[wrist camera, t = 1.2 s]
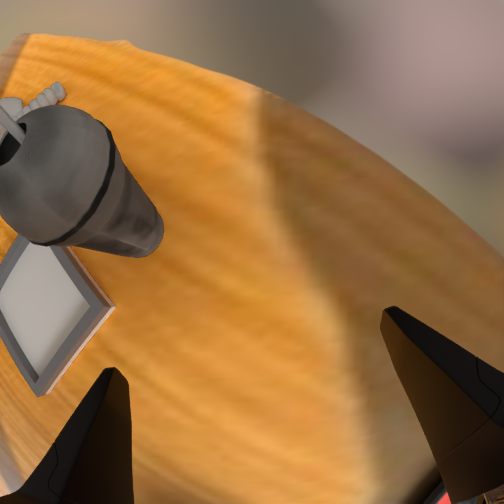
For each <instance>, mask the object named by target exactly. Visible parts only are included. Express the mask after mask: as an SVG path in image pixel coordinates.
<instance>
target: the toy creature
mask: <svg viewBox="0 0 504 504" xmlns="http://www.w3.org/2000/svg"><path fill="white" fill-rule="evenodd" d="M65 96H66V92H65V90H64V88H63V87H62V85H61V84H60V83H59V82H55V83H53V84H52V85H51V88H46V89H44V91H43V93H40V94H38V95H37V97H36V99H33V100H31V101H30V103H29V105H26V106H25V107H24V108H23V106H22V104H23V100H21V99H19V98H16V97H10V98H7V97H5V98H2V99H1V100H0V105H1V106H2V107H3V108H4V110H5V111H6V112H7V113H8V114H9V115H10V116H11V117H12V119H13V120H14V121H16V120H18V119H19V118H20V117H22V116H23V115H25V114H26V113H28V112H30V111H32V110H34V109H37V108H40V107H44V106H49V105H56V103H57V101H62V100H63V99H64V98H65ZM6 131H7V130H6V129H5V128H4V127H3V126H2V125H1V123H0V140H1V138H2V137H3V135H4V134H5V132H6Z"/></svg>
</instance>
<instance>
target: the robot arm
mask: <svg viewBox="0 0 504 504" xmlns="http://www.w3.org/2000/svg"><path fill="white" fill-rule="evenodd" d="M380 330H381V333H382V336H383V338H384V341H385V344H386V346H387V349H388V352H389V355H390V357H391V360H392V363H393V366H394V368H395V371H396V373H397V375H398V377H399V379H400V381H401V383H402V385H403V387H404V390H405V392H406V394H407V396H408V398H409V400H410V402H411V405H412V407H413V409H414V411H415V413H416V416H417V418H418V420H419V422H420V425H421V427H422V429H423V432H424V434H425V436H426V439H427V441H428V443H429V446H430V448H431V451H432V453H433V456H434V458H435V461H436V464H437V466H438V469H439V471H440V474H441V477H442V479H443V482H444V485H445V488H446V491H447V493H448V496H449V499H450V502H451V504H456V503H459V502H462V501H465V500H468V499H471V498H474V497H476V496H479V495H481V494H482V495H481V496H479V497H478V499H477V501H476V504H504V373H503V372H501V371H499V370H497V369H495V368H494V367H492V366H491V365H489V364H487V363H486V362H484V361H483V360H481V359H479V358H478V357H475V355H473V354H472V353H470V352H469V351H467V350H465V349H464V348H462V347H461V346H459V345H458V344H456V343H454V342H453V341H451V340H450V339H448V338H447V337H445V336H443V335H442V334H440V333H439V332H437V331H435V330H434V329H432V328H431V327H429V326H427V325H426V324H424V323H423V322H421V321H419V320H418V319H416V318H414V317H413V316H411V315H410V314H408V313H406V312H405V311H403V310H401V309H400V308H398V307H396V306H391V307H388V308H385V309H384V310H383V312H382V318H381V323H380ZM0 504H134V493H133V475H132V422H131V409H130V396H129V384H128V381H127V379H126V378H125V377H124V376H123V375H122V374H121V372H120V371H119V370H118V369H117V368H115V367H111V368H105V369H104V370H103V371H102V373H101V374H100V375H99V377H98V378H97V380H96V381H95V383H94V384H93V385H92V387H91V388H90V390H89V391H88V392H87V394H86V395H85V397H84V398H83V400H82V401H81V403H80V404H79V405H78V407H77V408H76V410H75V411H74V413H73V414H72V416H71V417H70V419H69V420H68V422H67V423H66V425H65V426H64V428H63V429H62V431H61V432H60V434H59V435H58V437H57V438H56V440H55V442H54V443H53V444H52V446H51V447H50V449H49V451H48V452H47V453H46V455H45V456H44V458H43V459H42V461H41V462H40V463H39V465H38V466H37V467H36V469H35V470H34V471H33V473H32V474H31V475H30V477H29V478H28V479H27V480H26V482H25V483H24V484H23V486H22V487H21V488H20V489H19V490H17V491H16V492H14V493H11V494H8V495H5V496H2V497H0Z"/></svg>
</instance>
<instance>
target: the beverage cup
mask: <svg viewBox="0 0 504 504" xmlns="http://www.w3.org/2000/svg"><path fill="white" fill-rule="evenodd" d="M0 123H1V125H2V126H3V127H4V128H5V129H6V130H7V131H6V132H5V134H4V135H3V137H2V138H1V140H0V215H1V217H2V218H3V219H4V220H5V222H6V223H7V224H8V225H10V226H11V227H12V228H13V229H14V230H15V231H16V232H17V233H19V234H20V235H21V236H23V237H25V238H26V239H27V240H28V241H30V242H31V243H32V244H35V245H40V246H45V247H48V246H51V245H54V246H77V247H82V248H86V249H91V250H96V251H101V252H106V253H110V254H115V255H120V256H126V257H135V258H140V257H145V256H147V255H149V254H151V253H152V252H153V251H154V250H155V249H156V248H157V247H158V246H159V244H160V242H161V240H162V238H163V233H164V225H163V221H162V218H161V216H160V214H159V213H158V212H157V210H156V207H155V206H154V205H153V203H152V202H151V201H150V199H149V198H148V197H147V195H146V194H145V192H144V191H143V190H142V188H141V187H140V185H139V184H138V183H137V181H136V180H135V178H134V177H133V176H132V174H131V173H130V171H129V170H128V169H127V167H126V166H125V164H124V163H123V161H122V159H121V156H120V153H119V151H118V149H117V146H116V144H115V142H114V140H113V137H112V134H111V131H110V130H109V129H108V128H107V127H106V126H105V125H104V124H103V123H102V122H100V121H99V120H97V119H94V118H93V117H92V116H91V115H90V114H88V113H86V112H85V111H83V110H80V109H77V108H74V107H69V106H65V105H49V106H44V107H40V108H37V109H34V110H32V111H30V112H28V113H26V114H25V115H23V116H22V117H20V118H19V119H18V120H16V121H14V120H13V119H12V117H11V116H10V115H9V114H8V113H7V112H6V111H5V110H4V108H3V107H2V106H1V105H0Z"/></svg>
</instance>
